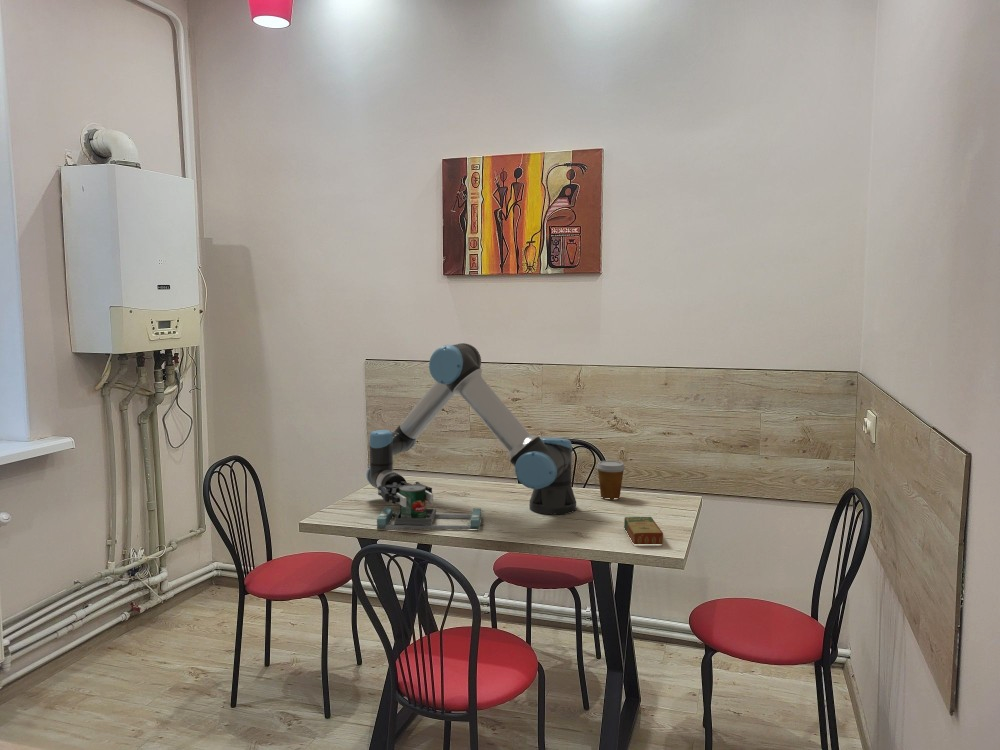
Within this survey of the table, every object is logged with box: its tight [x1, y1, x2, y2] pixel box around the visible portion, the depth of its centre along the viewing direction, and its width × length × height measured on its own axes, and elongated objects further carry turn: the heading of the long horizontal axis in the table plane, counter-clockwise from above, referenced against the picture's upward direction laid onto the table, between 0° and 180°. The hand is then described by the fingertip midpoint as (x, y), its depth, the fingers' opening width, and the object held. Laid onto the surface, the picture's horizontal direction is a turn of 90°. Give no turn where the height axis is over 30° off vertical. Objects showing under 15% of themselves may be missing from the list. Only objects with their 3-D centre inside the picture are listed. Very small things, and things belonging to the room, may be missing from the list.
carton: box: [623, 516, 664, 544], centre depth 219 cm, size 8×16×4 cm, turn 1°
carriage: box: [393, 508, 437, 525], centre depth 231 cm, size 11×13×2 cm
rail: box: [376, 512, 480, 530], centre depth 231 cm, size 30×13×1 cm, turn 88°
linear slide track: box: [376, 506, 482, 530], centre depth 231 cm, size 30×13×3 cm, turn 88°
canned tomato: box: [399, 483, 427, 518], centre depth 231 cm, size 8×8×11 cm
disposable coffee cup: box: [596, 460, 626, 499], centre depth 260 cm, size 10×10×12 cm
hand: (418, 500), depth 226 cm, fingers closed on canned tomato, 8 cm apart
